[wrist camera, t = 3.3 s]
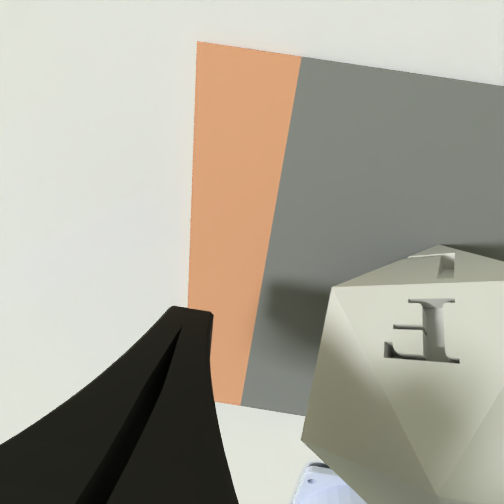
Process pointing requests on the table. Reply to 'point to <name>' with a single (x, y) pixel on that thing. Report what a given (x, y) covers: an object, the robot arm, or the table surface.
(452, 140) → the mat
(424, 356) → the die
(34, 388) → the table surface
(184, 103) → the table surface
